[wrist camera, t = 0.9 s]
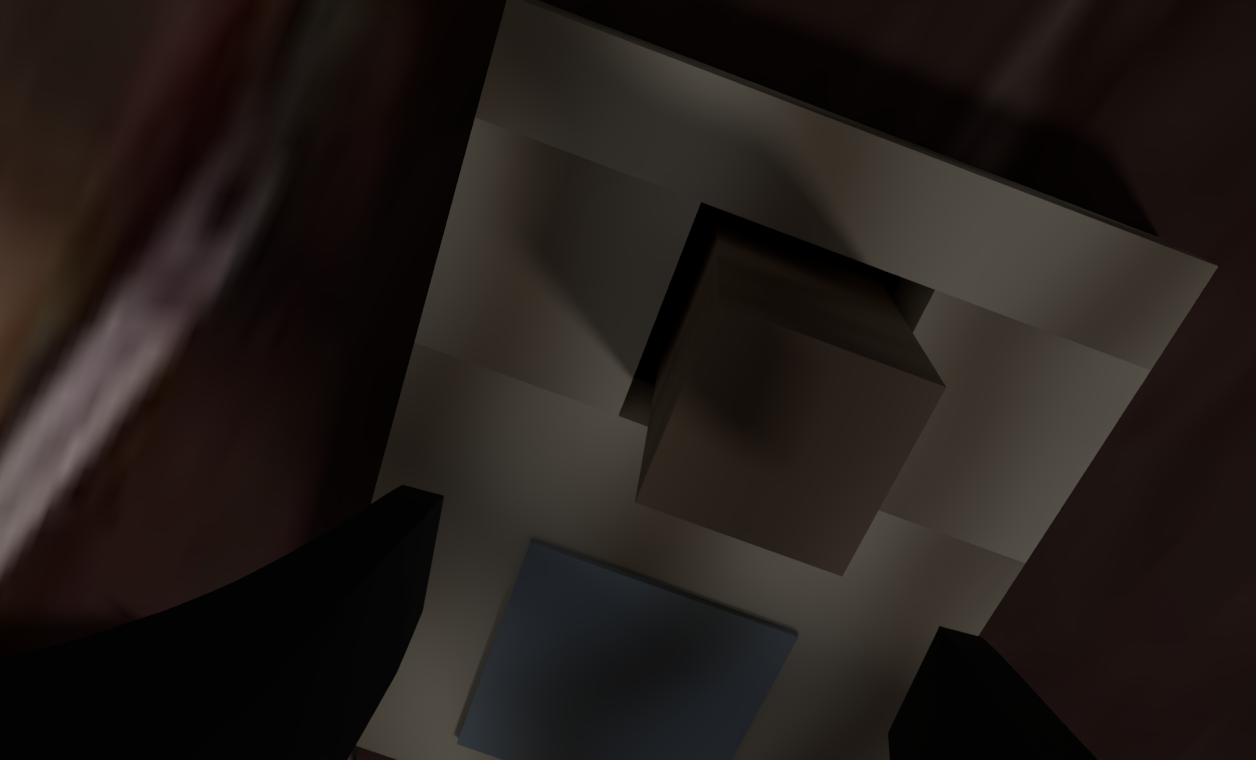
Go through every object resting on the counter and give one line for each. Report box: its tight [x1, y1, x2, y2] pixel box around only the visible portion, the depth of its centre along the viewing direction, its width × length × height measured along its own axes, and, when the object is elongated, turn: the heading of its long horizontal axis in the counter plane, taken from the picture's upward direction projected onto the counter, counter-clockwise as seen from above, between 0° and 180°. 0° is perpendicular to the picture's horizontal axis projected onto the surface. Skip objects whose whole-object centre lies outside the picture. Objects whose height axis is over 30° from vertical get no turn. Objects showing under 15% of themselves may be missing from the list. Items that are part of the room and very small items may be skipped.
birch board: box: [356, 0, 1218, 760], centre depth 22 cm, size 15×20×3 cm
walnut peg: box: [635, 215, 946, 576], centre depth 18 cm, size 4×4×7 cm
